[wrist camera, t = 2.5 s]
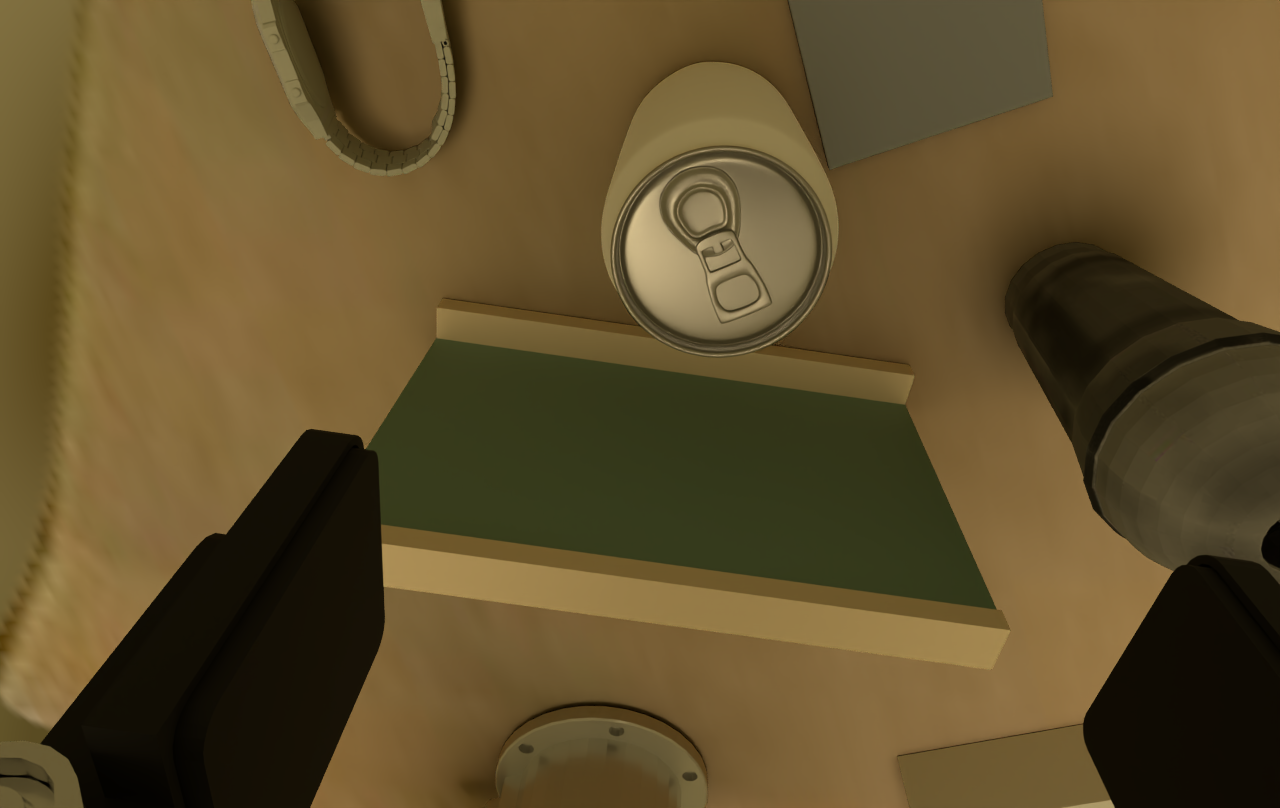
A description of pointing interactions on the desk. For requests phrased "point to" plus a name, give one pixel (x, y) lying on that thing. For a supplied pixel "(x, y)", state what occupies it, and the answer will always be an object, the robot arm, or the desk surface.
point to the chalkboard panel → (676, 488)
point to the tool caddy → (1007, 774)
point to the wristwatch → (313, 101)
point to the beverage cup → (1157, 404)
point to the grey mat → (916, 67)
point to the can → (718, 214)
